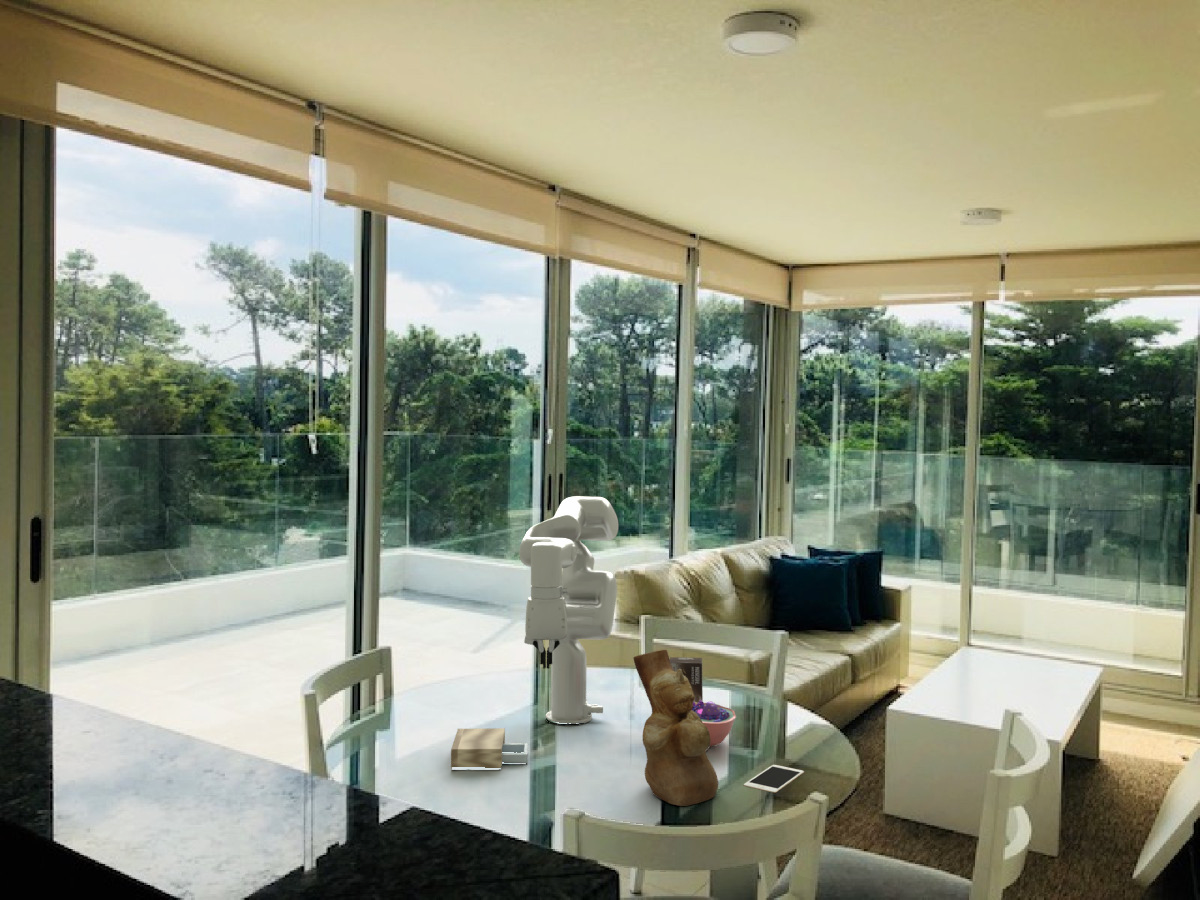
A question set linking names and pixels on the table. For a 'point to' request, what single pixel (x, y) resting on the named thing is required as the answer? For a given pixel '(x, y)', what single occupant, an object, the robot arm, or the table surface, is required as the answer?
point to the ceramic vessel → (674, 735)
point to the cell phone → (774, 778)
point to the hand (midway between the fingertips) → (546, 667)
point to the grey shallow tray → (515, 756)
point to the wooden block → (478, 748)
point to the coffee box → (690, 673)
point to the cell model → (715, 720)
